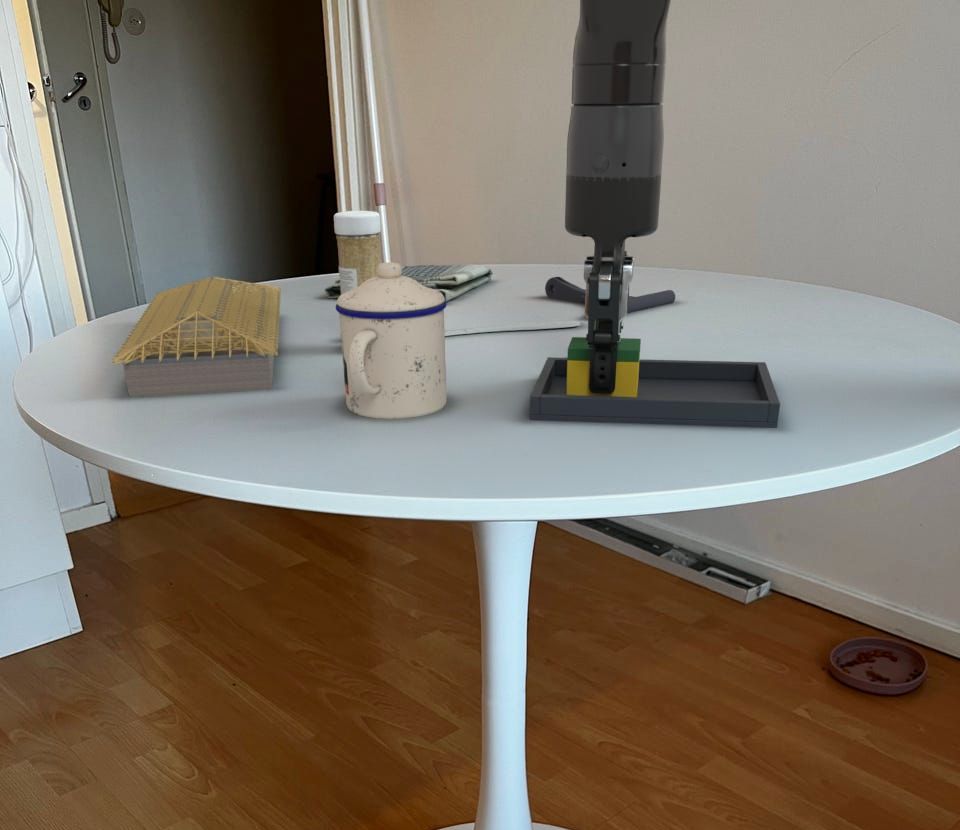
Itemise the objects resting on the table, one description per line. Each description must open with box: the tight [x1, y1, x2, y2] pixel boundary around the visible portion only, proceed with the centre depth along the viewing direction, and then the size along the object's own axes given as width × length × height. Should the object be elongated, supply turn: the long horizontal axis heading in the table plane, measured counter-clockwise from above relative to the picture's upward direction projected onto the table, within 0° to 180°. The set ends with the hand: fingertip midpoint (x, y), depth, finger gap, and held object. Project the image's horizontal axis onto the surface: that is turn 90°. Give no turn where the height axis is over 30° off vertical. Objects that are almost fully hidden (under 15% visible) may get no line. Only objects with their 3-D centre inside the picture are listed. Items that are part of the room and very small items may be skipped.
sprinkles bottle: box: [333, 210, 382, 295], centre depth 102 cm, size 5×5×14 cm
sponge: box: [566, 336, 642, 397], centre depth 87 cm, size 6×4×4 cm
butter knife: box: [444, 320, 581, 337], centre depth 111 cm, size 1×27×3 cm
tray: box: [529, 356, 781, 429], centre depth 86 cm, size 20×14×2 cm
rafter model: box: [109, 276, 282, 398], centre depth 104 cm, size 35×14×6 cm, turn 9°
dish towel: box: [324, 263, 493, 302], centre depth 136 cm, size 19×18×3 cm
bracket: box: [544, 276, 676, 314], centre depth 125 cm, size 14×15×3 cm
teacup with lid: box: [335, 262, 448, 420], centre depth 83 cm, size 12×9×12 cm
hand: (603, 383), depth 88 cm, fingers closed on sponge, 4 cm apart
